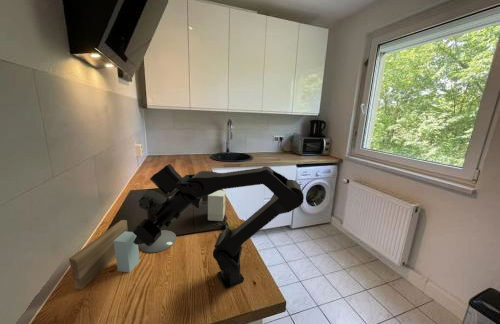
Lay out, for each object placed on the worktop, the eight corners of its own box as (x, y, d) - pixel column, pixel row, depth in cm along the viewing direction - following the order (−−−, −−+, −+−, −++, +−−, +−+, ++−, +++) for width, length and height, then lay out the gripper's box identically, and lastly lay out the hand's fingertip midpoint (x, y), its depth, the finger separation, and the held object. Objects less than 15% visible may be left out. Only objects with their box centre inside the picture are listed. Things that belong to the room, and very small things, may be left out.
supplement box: (223, 221, 94) (223, 196, 91) (207, 220, 94) (207, 195, 91) (225, 213, 101) (225, 190, 98) (210, 212, 101) (210, 189, 98)
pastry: (243, 221, 95) (243, 214, 94) (248, 229, 89) (248, 221, 88) (224, 224, 92) (224, 217, 91) (227, 233, 86) (228, 225, 85)
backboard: (129, 243, 76) (126, 220, 73) (81, 289, 57) (75, 259, 54) (124, 243, 76) (121, 219, 74) (75, 288, 57) (69, 258, 54)
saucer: (179, 245, 76) (179, 244, 76) (140, 257, 70) (140, 255, 69) (172, 228, 87) (172, 227, 87) (138, 236, 80) (138, 235, 80)
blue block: (139, 261, 68) (136, 232, 65) (129, 272, 63) (126, 242, 60) (128, 259, 68) (124, 231, 66) (117, 271, 63) (113, 240, 61)
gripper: (172, 174, 66) (143, 201, 70) (136, 197, 48) (99, 233, 52) (196, 198, 68) (166, 224, 71) (169, 229, 50) (131, 262, 53)
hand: (144, 233), depth 62 cm, fingers open, 9 cm apart
